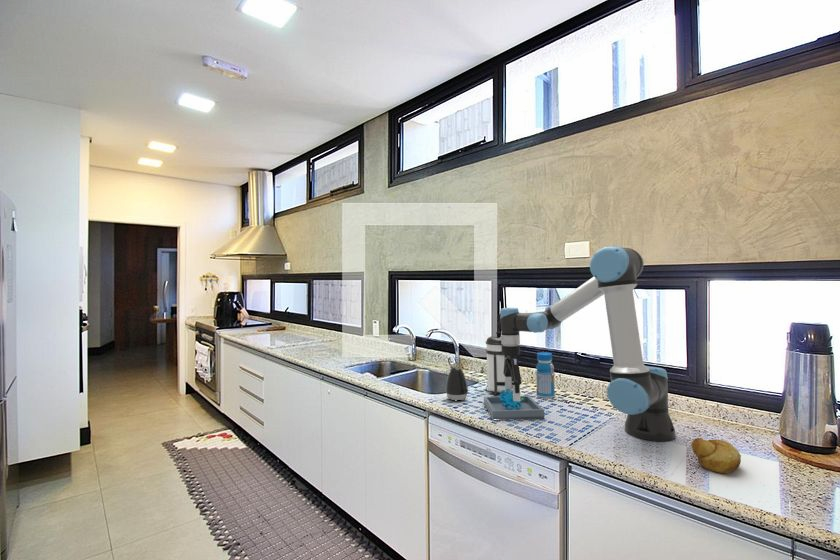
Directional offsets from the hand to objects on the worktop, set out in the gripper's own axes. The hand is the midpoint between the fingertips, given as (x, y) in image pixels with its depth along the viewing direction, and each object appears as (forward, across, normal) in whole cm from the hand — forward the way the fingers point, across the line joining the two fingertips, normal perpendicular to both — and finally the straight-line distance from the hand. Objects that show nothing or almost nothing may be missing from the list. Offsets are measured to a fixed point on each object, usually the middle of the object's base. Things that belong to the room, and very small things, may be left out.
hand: (512, 396), depth 162 cm
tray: (+6, 0, 0) cm, 6 cm away
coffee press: (+6, -28, +2) cm, 29 cm away
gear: (+5, 0, 0) cm, 6 cm away
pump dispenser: (+6, -19, -21) cm, 29 cm away
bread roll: (+8, +52, +45) cm, 70 cm away
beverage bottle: (+6, -21, +21) cm, 30 cm away
